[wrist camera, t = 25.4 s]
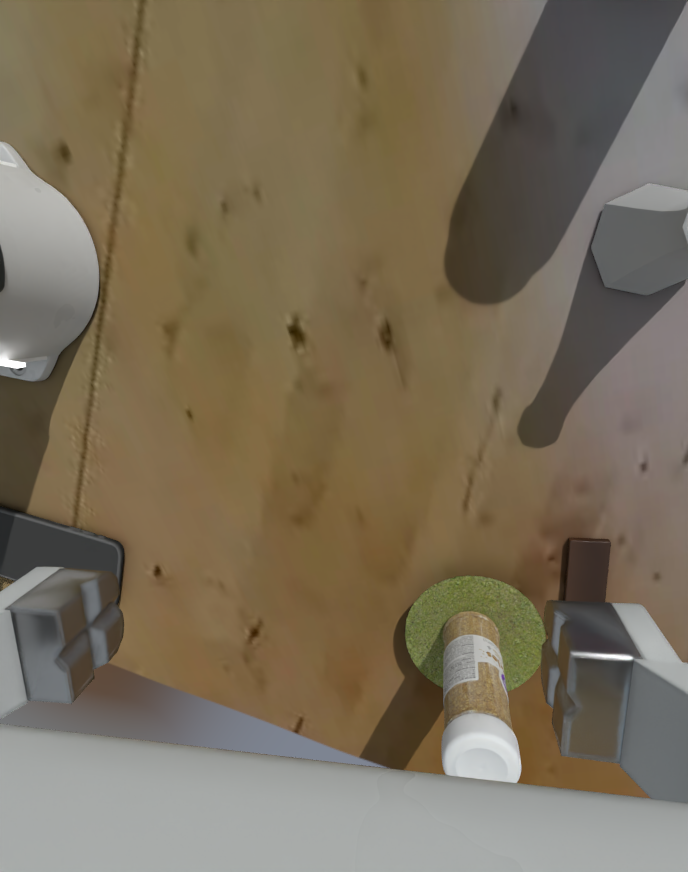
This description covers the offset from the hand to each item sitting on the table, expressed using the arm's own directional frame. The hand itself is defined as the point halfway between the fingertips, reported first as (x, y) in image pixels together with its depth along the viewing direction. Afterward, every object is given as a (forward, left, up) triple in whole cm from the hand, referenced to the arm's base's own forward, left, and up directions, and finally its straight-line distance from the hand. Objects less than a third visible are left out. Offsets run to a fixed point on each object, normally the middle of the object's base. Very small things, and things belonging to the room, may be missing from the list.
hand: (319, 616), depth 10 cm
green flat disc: (+5, -22, -34) cm, 40 cm away
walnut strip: (+14, -21, -33) cm, 42 cm away
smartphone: (-34, -17, -33) cm, 51 cm away
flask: (+16, +9, -34) cm, 38 cm away
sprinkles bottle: (+5, -21, -32) cm, 38 cm away
